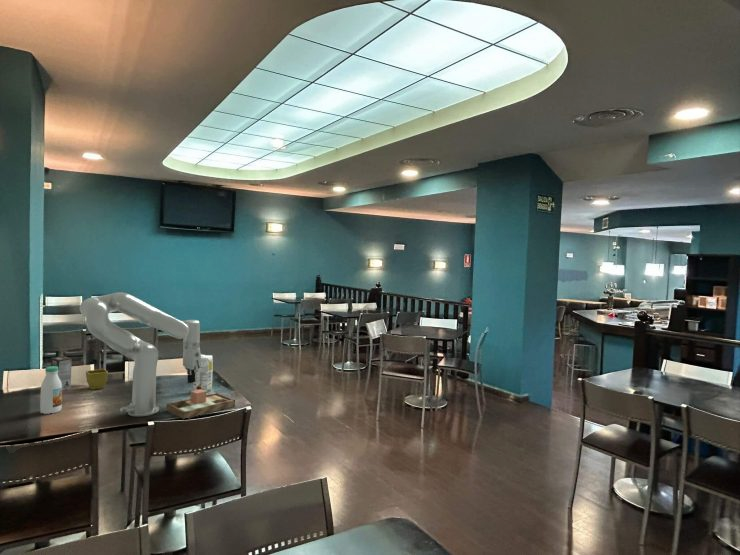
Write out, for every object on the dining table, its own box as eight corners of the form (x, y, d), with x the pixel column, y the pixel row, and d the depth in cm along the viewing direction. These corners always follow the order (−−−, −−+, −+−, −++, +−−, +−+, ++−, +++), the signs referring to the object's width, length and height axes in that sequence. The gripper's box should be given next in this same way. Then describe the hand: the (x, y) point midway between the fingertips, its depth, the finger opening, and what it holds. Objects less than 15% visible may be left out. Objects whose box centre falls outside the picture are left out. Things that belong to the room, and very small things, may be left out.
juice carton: (205, 393, 232) (206, 357, 232) (191, 392, 234) (192, 356, 234) (213, 389, 240) (214, 355, 239) (199, 388, 242) (200, 353, 241)
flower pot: (85, 387, 234) (85, 370, 234) (104, 384, 240) (104, 368, 240) (88, 391, 228) (88, 374, 228) (107, 388, 234) (108, 371, 233)
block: (196, 403, 208) (196, 393, 208) (190, 401, 211) (190, 391, 211) (206, 401, 212) (206, 391, 212) (200, 399, 215) (200, 389, 215)
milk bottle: (44, 415, 192) (45, 370, 191) (37, 411, 196) (37, 367, 195) (64, 411, 199) (65, 367, 198) (56, 407, 203) (57, 364, 202)
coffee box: (49, 388, 231) (50, 357, 230) (63, 385, 236) (64, 355, 235) (57, 391, 226) (58, 360, 225) (71, 388, 231) (72, 358, 231)
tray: (183, 419, 194) (184, 412, 194) (166, 410, 205) (166, 403, 204) (235, 406, 215) (235, 399, 215) (216, 398, 225) (216, 392, 225)
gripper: (206, 346, 214) (206, 383, 215) (190, 342, 224) (190, 377, 225) (192, 348, 208) (192, 387, 209) (176, 344, 218) (176, 380, 219)
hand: (191, 382), depth 217 cm, fingers closed
